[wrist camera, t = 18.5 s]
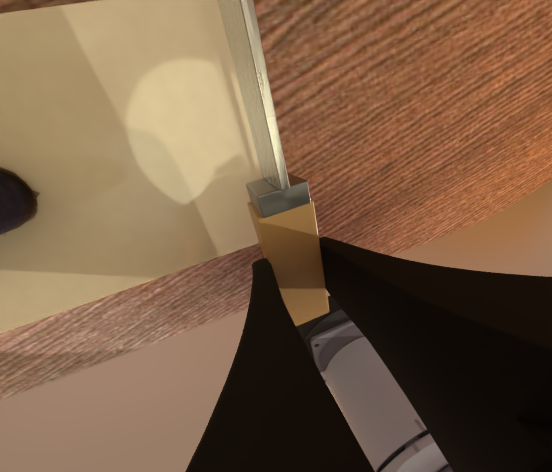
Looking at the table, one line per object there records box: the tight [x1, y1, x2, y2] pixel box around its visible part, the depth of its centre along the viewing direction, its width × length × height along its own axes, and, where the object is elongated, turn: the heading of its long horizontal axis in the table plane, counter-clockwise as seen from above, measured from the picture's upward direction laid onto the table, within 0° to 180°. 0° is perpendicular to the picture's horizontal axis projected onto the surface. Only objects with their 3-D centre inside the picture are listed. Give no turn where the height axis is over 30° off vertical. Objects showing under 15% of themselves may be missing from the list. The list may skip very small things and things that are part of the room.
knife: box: [217, 0, 329, 326], centre depth 7 cm, size 14×2×3 cm, turn 14°
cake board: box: [0, 0, 263, 333], centre depth 8 cm, size 10×19×1 cm, turn 104°
